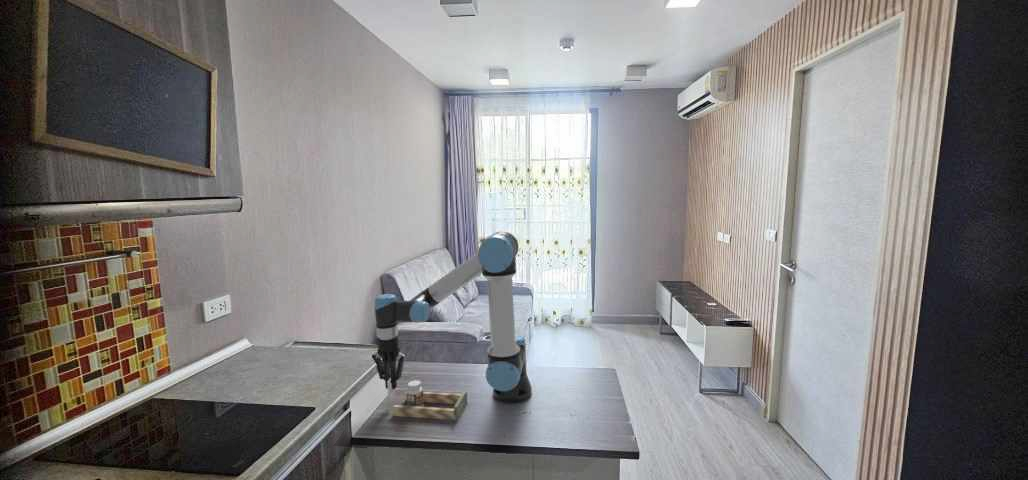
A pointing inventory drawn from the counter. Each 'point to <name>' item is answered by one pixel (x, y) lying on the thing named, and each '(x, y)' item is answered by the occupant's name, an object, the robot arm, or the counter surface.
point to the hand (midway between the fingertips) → (391, 396)
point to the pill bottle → (415, 394)
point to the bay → (432, 412)
